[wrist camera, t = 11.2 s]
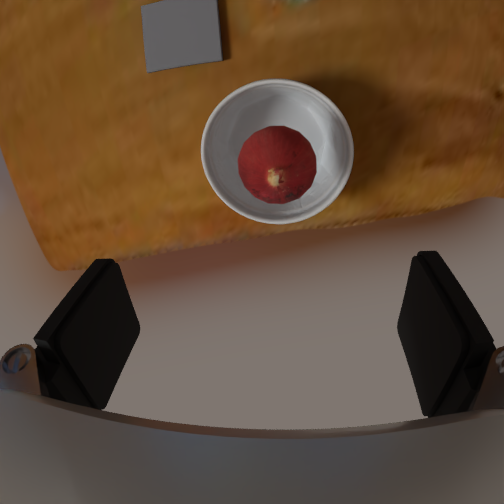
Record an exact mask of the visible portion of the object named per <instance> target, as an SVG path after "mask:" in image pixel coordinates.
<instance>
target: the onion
mask: <svg viewBox="0 0 504 504" xmlns="http://www.w3.org/2000/svg"><path fill="white" fill-rule="evenodd" d="M238 173H239V176H240V178H241V180H242V182H243V184H244V187H245V188H246V189H247V190H248V191H249V192H250V193H251V194H252V195H253V196H254V197H255V198H257V199H260V200H262V201H264V202H266V203H268V204H285V203H288V202H291V201H294V200H297V199H299V198H301V197H302V195H303V194H304V193H305V192H306V191H307V190H308V189H309V188H310V187H311V186H312V183H313V181H314V178H315V175H316V173H317V164H316V155H315V153H314V150H313V148H312V146H311V144H310V142H309V141H308V140H307V139H306V138H305V137H304V136H303V135H302V134H301V133H300V132H299V131H296V130H294V129H291V128H289V127H286V126H268V127H266V128H263V129H261V130H259V131H256V132H254V133H253V134H252V135H251V136H250V137H249V138H248V139H247V140H246V141H245V142H244V143H243V146H242V148H241V151H240V153H239V156H238Z"/></svg>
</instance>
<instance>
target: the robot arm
mask: <svg viewBox="0 0 504 504" xmlns="http://www.w3.org/2000/svg"><path fill="white" fill-rule="evenodd" d="M397 329H398V334H399V337H400V340H401V343H402V346H403V349H404V352H405V355H406V358H407V362H408V365H409V368H410V371H411V375H412V378H413V381H414V385H415V388H416V392H417V395H418V399H419V403H420V406H421V410H422V413H423V415H424V416H428V418H425V419H418V420H412V421H404V422H397V423H388V424H380V425H371V426H360V427H348V428H331V429H306V430H304V429H303V430H266V429H239V428H223V427H210V426H198V425H189V424H180V423H172V422H165V421H158V420H151V419H145V418H139V417H132V416H126V415H122V414H117V413H112V412H107V411H102V410H101V409H104V408H105V407H106V406H107V403H108V401H109V399H110V396H111V394H112V392H113V390H114V387H115V385H116V383H117V381H118V379H119V376H120V374H121V372H122V370H123V368H124V365H125V363H126V361H127V359H128V357H129V355H130V352H131V350H132V348H133V346H134V344H135V342H136V340H137V338H138V336H139V333H140V325H139V321H138V318H137V316H136V313H135V310H134V307H133V305H132V302H131V299H130V296H129V293H128V290H127V288H126V284H125V282H124V279H123V276H122V272H121V269H120V266H119V265H118V263H115V261H114V260H113V259H96V260H95V261H94V262H93V263H92V264H91V265H90V267H89V268H88V269H87V270H86V271H85V273H84V274H83V275H82V276H81V277H80V279H79V280H78V281H77V282H76V283H75V285H74V286H73V287H72V288H71V290H70V291H69V292H68V293H67V295H66V296H65V297H64V298H63V300H62V301H61V302H60V304H59V305H58V306H57V307H56V309H55V310H54V311H53V313H52V314H51V315H50V317H49V318H48V319H47V320H46V322H45V323H44V324H43V326H42V327H41V329H40V330H39V331H38V333H37V334H36V335H35V337H34V341H35V342H36V344H37V348H36V349H34V348H33V347H32V346H31V345H29V344H19V345H16V346H14V347H12V348H10V349H9V350H8V351H7V352H6V353H5V354H4V355H3V356H2V358H1V360H0V504H504V346H503V347H500V348H498V349H496V347H495V345H494V344H493V341H494V340H493V338H492V336H491V334H490V333H489V331H488V329H487V327H486V326H485V324H484V322H483V321H482V319H481V317H480V315H479V314H478V312H477V311H476V309H475V307H474V306H473V304H472V302H471V301H470V299H469V298H468V296H467V295H466V293H465V291H464V290H463V288H462V287H461V285H460V284H459V282H458V281H457V280H456V278H455V276H454V275H453V274H452V272H451V271H450V269H449V267H448V266H447V265H446V263H445V262H444V260H443V259H442V257H441V256H440V255H439V253H438V252H437V251H420V252H418V254H417V256H414V257H413V258H412V262H411V266H410V272H409V276H408V281H407V286H406V290H405V295H404V299H403V304H402V307H401V311H400V316H399V319H398V325H397Z"/></svg>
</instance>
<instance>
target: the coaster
mask: <svg viewBox="0 0 504 504" xmlns="http://www.w3.org/2000/svg"><path fill="white" fill-rule="evenodd" d="M141 12H142V25H143V37H144V48H145V58H146V68H147V73H151V72H156V71H161V70H166V69H171V68H177V67H183V66H189V65H195V64H202V63H209V62H217V61H223V54H222V43H221V32H220V21H219V10H218V0H164V1H160V2H156V3H152V4H148V5H144V6H141Z"/></svg>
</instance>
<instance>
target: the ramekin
mask: <svg viewBox="0 0 504 504" xmlns="http://www.w3.org/2000/svg"><path fill="white" fill-rule="evenodd" d="M268 126H286V127H289V128H291V129H294V130H296V131H299V132H300V133H301V134H302V135H303V136H304V137H305V138H306V139H307V140H308V141H309V142H310V144H311V146H312V148H313V150H314V153H315V155H316V164H317V173H316V175H315V178H314V181H313V183H312V186H311V187H310V188H309V189H308V190H307V191H306V192H305V193H304V194H303V195H302V197H301V198H299V199H297V200H294V201H291V202H288V203H285V204H268V203H266V202H264V201H262V200H260V199H257V198H255V197H254V196H253V195H252V194H251V193H250V192H249V191H248V190H247V189H246V188H245V187H244V184H243V182H242V180H241V178H240V176H239V173H238V156H239V153H240V151H241V148H242V146H243V143H244V142H245V141H246V140H247V139H248V138H249V137H250V136H251V135H252V134H253V133H254V132H256V131H259V130H261V129H263V128H266V127H268ZM201 158H202V164H203V168H204V171H205V174H206V177H207V179H208V181H209V183H210V185H211V186H212V188H213V190H214V191H215V192H216V194H217V195H218V196H219V197H220V199H221V200H222V201H223V202H224V203H225V204H226V205H228V206H229V207H230V208H231V209H233V210H234V211H236V212H237V213H239V214H241V215H243V216H245V217H247V218H249V219H252V220H255V221H259V222H263V223H269V224H288V223H294V222H299V221H302V220H305V219H307V218H310V217H312V216H314V215H316V214H317V213H319V212H321V211H322V210H323V209H325V208H326V207H327V206H329V205H330V204H331V203H332V202H333V201H334V200H335V199H336V198H337V196H338V195H339V194H340V193H341V191H342V190H343V188H344V186H345V185H346V183H347V180H348V178H349V176H350V173H351V169H352V165H353V158H354V146H353V139H352V134H351V131H350V128H349V126H348V123H347V121H346V119H345V118H344V116H343V114H342V113H341V111H340V110H339V109H338V107H337V106H336V105H335V104H334V103H333V102H332V101H331V100H330V99H329V98H328V97H327V96H325V95H324V94H322V93H321V92H320V91H318V90H316V89H315V88H313V87H311V86H309V85H306V84H304V83H301V82H297V81H294V80H288V79H265V80H260V81H255V82H252V83H249V84H247V85H245V86H243V87H241V88H239V89H237V90H235V91H234V92H232V93H231V94H229V95H228V96H227V97H226V98H224V99H223V100H222V101H221V102H220V103H219V105H218V106H217V107H216V108H215V109H214V111H213V112H212V114H211V115H210V117H209V119H208V121H207V123H206V126H205V129H204V132H203V136H202V142H201Z"/></svg>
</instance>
